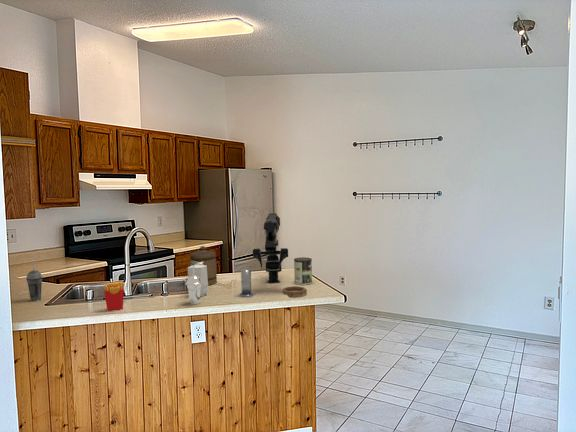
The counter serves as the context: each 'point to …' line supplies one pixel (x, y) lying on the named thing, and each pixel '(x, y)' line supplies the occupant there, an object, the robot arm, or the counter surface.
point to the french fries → (114, 295)
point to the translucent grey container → (206, 263)
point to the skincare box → (202, 273)
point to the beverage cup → (34, 284)
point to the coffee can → (303, 270)
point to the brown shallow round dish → (295, 291)
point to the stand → (246, 297)
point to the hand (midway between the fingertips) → (270, 267)
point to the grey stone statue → (194, 287)
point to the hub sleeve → (246, 283)
